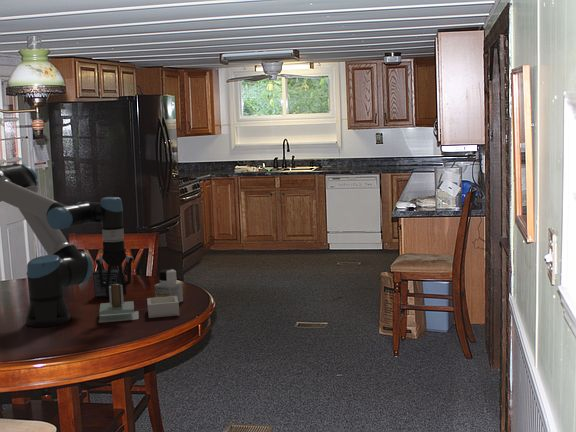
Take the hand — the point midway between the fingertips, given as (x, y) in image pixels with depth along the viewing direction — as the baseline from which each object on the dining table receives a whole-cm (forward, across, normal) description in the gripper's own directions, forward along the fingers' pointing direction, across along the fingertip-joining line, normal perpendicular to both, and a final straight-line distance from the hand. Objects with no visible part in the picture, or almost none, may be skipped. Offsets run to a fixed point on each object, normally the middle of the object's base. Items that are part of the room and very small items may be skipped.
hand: (116, 303), depth 281 cm
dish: (+5, +17, 0) cm, 17 cm away
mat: (+5, +1, 0) cm, 5 cm away
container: (+5, +20, +16) cm, 26 cm away
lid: (+2, 0, 0) cm, 2 cm away
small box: (+6, -4, +38) cm, 38 cm away
